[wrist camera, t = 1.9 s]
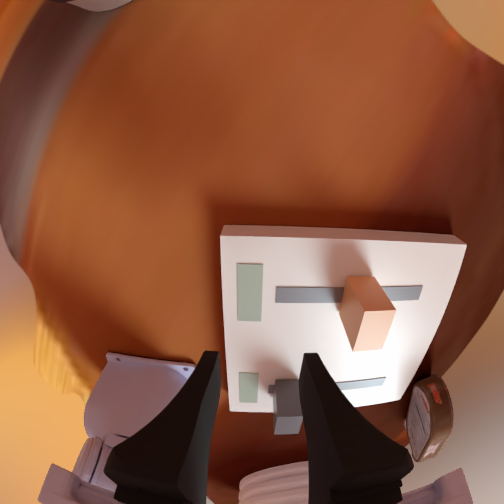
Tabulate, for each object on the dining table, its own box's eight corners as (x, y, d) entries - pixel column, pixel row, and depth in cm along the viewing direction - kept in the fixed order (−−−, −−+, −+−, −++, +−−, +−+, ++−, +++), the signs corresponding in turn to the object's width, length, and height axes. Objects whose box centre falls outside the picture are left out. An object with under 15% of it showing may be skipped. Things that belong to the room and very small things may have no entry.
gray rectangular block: (272, 399, 23) (274, 434, 19) (275, 379, 22) (277, 416, 18) (294, 399, 23) (298, 433, 19) (299, 379, 21) (303, 416, 18)
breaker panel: (231, 395, 26) (230, 411, 24) (224, 224, 18) (219, 236, 16) (394, 386, 26) (400, 400, 24) (453, 234, 18) (467, 245, 16)
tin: (418, 420, 30) (434, 463, 22) (399, 427, 30) (414, 472, 23) (434, 359, 24) (465, 415, 16) (410, 369, 24) (437, 429, 17)
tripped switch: (338, 313, 19) (352, 351, 15) (346, 276, 17) (364, 311, 14) (364, 313, 19) (382, 349, 15) (374, 276, 17) (396, 309, 14)
